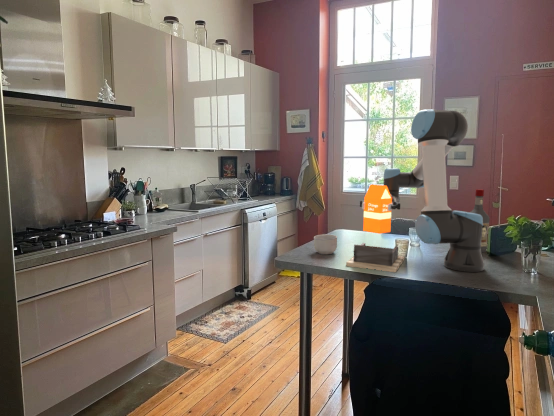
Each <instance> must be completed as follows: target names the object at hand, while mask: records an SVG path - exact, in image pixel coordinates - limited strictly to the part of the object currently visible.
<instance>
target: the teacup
mask: <svg viewBox="0 0 554 416" xmlns="http://www.w3.org/2000/svg"><path fill="white" fill-rule="evenodd" d="M313 244H314V245H313V246H314V250H315V252H317V253H318V254H320V255H332V254H334V252H335V251H336V250H337V247H338V236H337V235H335V234H326V233H322V234H317V235H315V236H313Z"/></svg>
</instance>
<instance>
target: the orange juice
mask: <svg viewBox="0 0 554 416" xmlns="http://www.w3.org/2000/svg"><path fill="white" fill-rule="evenodd" d="M363 201H364V202H365V209H363V223H362V224H363V228H362V231H363V232H368V233H375V234H386V233H391V227H392V226H391V224H392V222H391V221H392V210H391V211H388V204H390V203H392V198H391V195H390V193H389V190H388V188H387V186H385V185H384V184H383V185H382V184H370V185H369V187H368V189H367V191H366V193H365V195H364V200H363Z"/></svg>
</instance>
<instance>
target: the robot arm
mask: <svg viewBox="0 0 554 416" xmlns="http://www.w3.org/2000/svg"><path fill="white" fill-rule="evenodd" d="M468 125H469V124H468V120H467V118H466V117H465V115H464V114H462V113H461V112H459V111H457V110H448V109H447V110H446V109H445V110H442V109H433V108H432V109H431V108H430V109H422V110H419V111H418V112H417V113H416V115H415V116H414V117H413V120H412V122H411V127H410V133H411V135H412V137H413V138H414V139H416V140H417V145H418V147H420V148H421V153H422V154H421V155H422V158H421V160H419V161H418V163H417V164H416V166H415V167H414V169H412V171H409V172H405V171H404V172H401V169H400V168H393V167H392V168H385V169H384V171H383V172H384V173H383V185H385V186H387V188H388V190H389V193H390V195H391V198H392V203H390V204H388V211H391V212H392V211H393V210H401V203H400V202H401V198H400V189H401V188H404V189H405V188H406V189H407V188H408V189H410V188H413V189H415V188H416V189H419V188H423V196H424V197H423V199H424V207H423V208H422V209H421V210H420V214H419V216H417V217H416V220H415V223H414V227H415V228H414V229H415V232H416V235H417V237H418V238H419V240H420V241H422V242H423V243H424V244H427V245H439V244H441V245H442V244H443V245H444V244H449V248H448V250H447V253H446V255H445V257H444V259H443V265H444V267H445V268H448V269H451V270H455V271H457V272H458V271H459V272H466V273H478V272H479V273H480V272H483V271H484V270H485V263H484V258H483V255H482V252H481V239H482V229H483V217H482V216H481V215H479V214H475V213H470V212H469V211H462V210H456V209H455V210H452V208H450V206H448V192H447V191H448V190H447V189H448V187H447V167H446V156H447V155H448V154H449V153H450V152H451V151H452V150H453V148H456V147H458V146H459V145H460V144H461V143H462V142H463V141H464V139H465V137H466V135H467V133H468V128H469V127H468ZM359 207H360V208H361V210H364V209H365V202H364V200H360V201H359Z"/></svg>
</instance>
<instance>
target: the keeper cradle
mask: <svg viewBox="0 0 554 416" xmlns="http://www.w3.org/2000/svg"><path fill="white" fill-rule="evenodd" d="M404 261H405V256H404V255H403V256H402V255H399V246H396V245H395V246H394V247H393V248H391V247H382V246H381V247H380V246H375V245H374V246H373V245H366V243H365V242H362V243H360V244H354V245H353V255H352V256H351V258H350V259H348V260H347V261H346V264H345V266H347V267H353V268H360V269H366V268H368V269H367V270H374V269H376V270H375V271H381V270H382V272H391V273H396V272H398V270H399V268H400V267H401V265H402V264H403V262H404Z"/></svg>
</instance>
